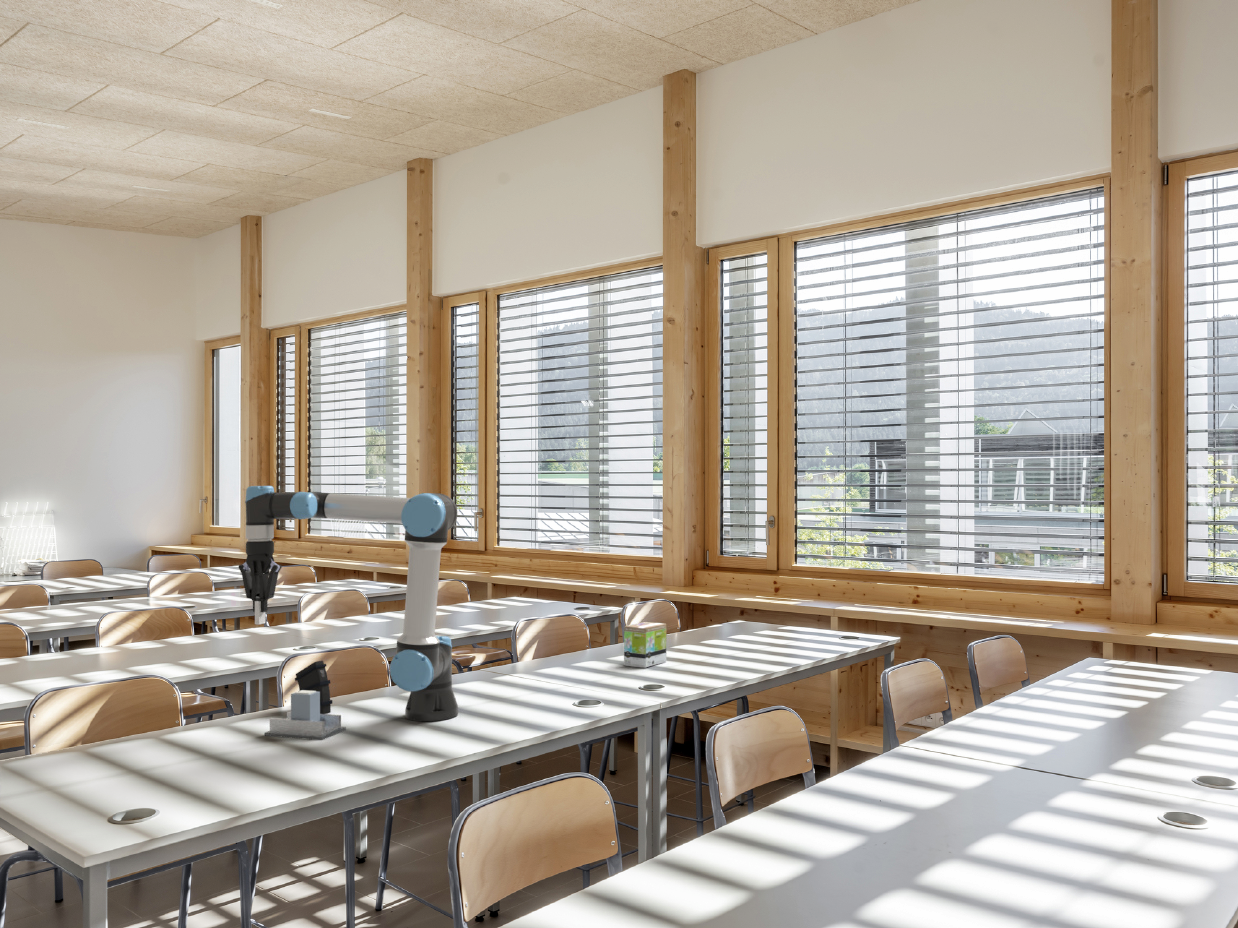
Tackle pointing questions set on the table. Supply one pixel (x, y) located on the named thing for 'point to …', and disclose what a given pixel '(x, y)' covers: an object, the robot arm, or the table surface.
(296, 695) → the block
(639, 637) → the tea box
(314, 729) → the grey piece
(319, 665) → the magazine
